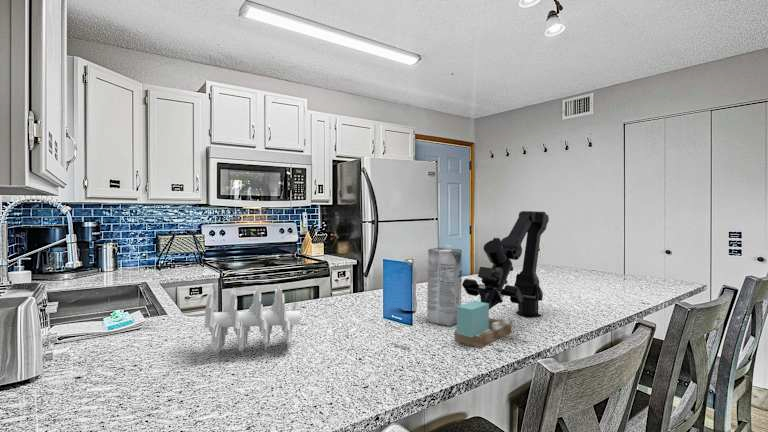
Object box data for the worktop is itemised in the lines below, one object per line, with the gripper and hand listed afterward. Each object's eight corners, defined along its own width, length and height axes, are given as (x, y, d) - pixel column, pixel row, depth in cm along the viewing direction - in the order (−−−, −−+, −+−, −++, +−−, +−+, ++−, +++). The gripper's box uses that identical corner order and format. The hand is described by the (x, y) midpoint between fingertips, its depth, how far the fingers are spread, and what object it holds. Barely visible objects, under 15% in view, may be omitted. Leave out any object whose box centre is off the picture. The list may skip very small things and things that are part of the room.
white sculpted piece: (298, 364, 111) (200, 370, 103) (294, 321, 126) (209, 323, 118) (304, 313, 103) (199, 315, 96) (300, 273, 118) (209, 273, 111)
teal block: (473, 326, 124) (474, 300, 124) (488, 329, 121) (489, 303, 121) (456, 333, 117) (457, 306, 117) (471, 337, 114) (472, 309, 113)
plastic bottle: (397, 312, 150) (397, 259, 150) (404, 308, 156) (405, 257, 156) (412, 314, 147) (413, 261, 147) (419, 310, 153) (420, 259, 153)
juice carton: (451, 328, 132) (452, 247, 131) (424, 322, 138) (425, 244, 138) (463, 322, 139) (464, 245, 138) (437, 316, 146) (438, 243, 145)
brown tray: (486, 326, 135) (487, 311, 134) (511, 332, 129) (511, 316, 128) (454, 340, 120) (454, 324, 120) (480, 348, 114) (481, 330, 114)
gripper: (465, 254, 133) (446, 292, 125) (519, 260, 120) (502, 303, 112) (476, 275, 139) (459, 312, 131) (529, 282, 126) (513, 324, 118)
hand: (481, 312), depth 123 cm, fingers closed, pressing on teal block
